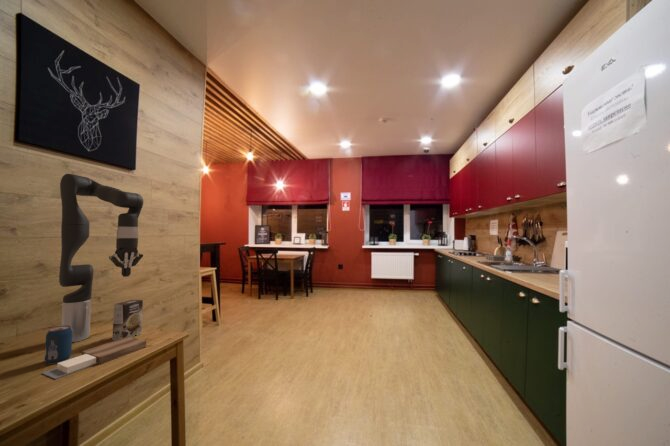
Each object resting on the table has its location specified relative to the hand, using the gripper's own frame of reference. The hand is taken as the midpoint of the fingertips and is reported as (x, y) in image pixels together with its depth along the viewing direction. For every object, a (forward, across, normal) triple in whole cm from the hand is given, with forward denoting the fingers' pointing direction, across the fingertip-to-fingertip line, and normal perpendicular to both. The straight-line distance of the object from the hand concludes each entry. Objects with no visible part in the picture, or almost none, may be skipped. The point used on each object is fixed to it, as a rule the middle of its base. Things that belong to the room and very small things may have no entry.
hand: (125, 276), depth 116 cm
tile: (+29, +19, +8) cm, 35 cm away
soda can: (+29, +19, -5) cm, 35 cm away
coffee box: (+29, -5, -6) cm, 30 cm away
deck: (+29, +6, +7) cm, 30 cm away
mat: (+29, +20, +7) cm, 36 cm away
